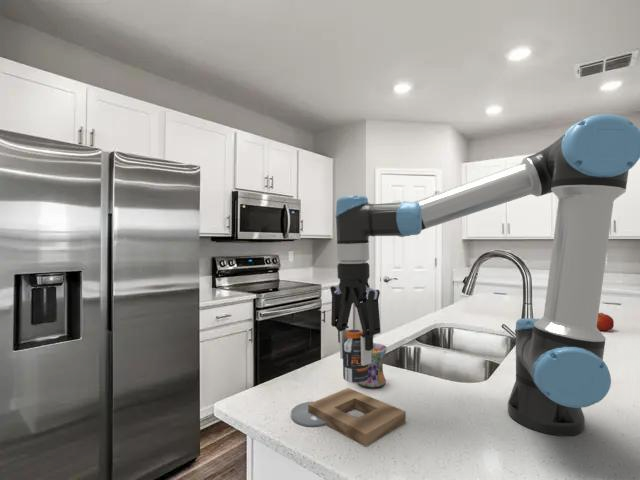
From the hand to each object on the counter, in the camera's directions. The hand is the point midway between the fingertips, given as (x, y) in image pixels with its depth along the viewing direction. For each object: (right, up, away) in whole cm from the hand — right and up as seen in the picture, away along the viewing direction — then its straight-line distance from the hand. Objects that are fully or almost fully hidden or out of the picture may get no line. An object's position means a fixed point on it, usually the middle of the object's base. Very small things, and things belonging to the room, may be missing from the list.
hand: (355, 360), depth 84 cm
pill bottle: (0, -5, 0) cm, 5 cm away
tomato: (+119, -13, +79) cm, 143 cm away
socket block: (0, -14, 0) cm, 14 cm away
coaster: (-10, -14, +2) cm, 17 cm away
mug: (+6, -14, +21) cm, 26 cm away
